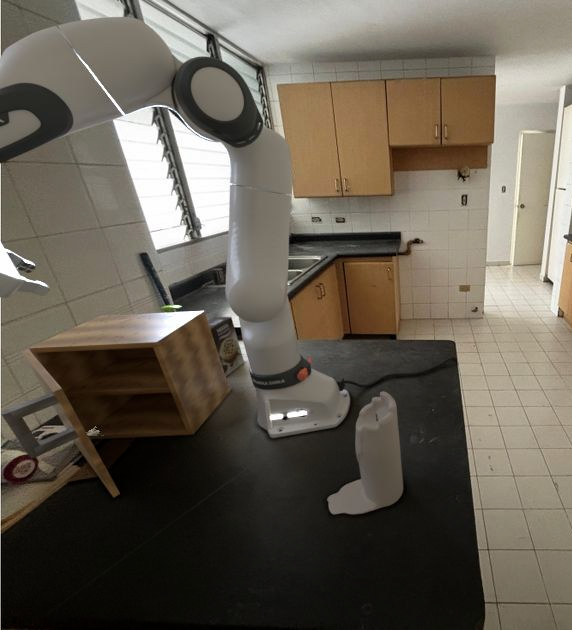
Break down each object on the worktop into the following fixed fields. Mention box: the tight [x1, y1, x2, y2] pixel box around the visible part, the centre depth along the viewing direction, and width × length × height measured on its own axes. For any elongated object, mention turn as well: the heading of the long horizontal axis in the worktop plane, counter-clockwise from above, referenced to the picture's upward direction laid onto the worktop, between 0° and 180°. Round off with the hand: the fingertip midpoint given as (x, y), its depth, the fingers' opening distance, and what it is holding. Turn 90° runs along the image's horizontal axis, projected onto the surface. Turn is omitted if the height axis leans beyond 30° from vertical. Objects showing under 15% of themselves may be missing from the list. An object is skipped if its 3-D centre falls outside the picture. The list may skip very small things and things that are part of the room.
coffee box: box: [207, 316, 245, 377], centre depth 101 cm, size 9×6×16 cm
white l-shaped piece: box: [326, 391, 404, 515], centre depth 57 cm, size 7×14×20 cm, turn 108°
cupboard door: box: [0, 349, 121, 498], centre depth 63 cm, size 7×26×24 cm, turn 56°
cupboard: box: [28, 310, 231, 440], centre depth 81 cm, size 17×26×24 cm, turn 91°
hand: (39, 279), depth 60 cm, fingers open, 8 cm apart
